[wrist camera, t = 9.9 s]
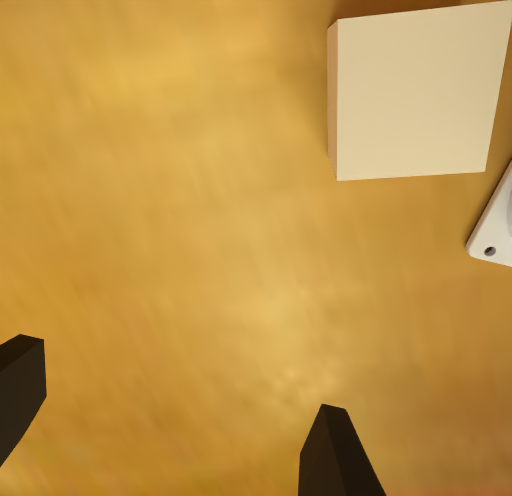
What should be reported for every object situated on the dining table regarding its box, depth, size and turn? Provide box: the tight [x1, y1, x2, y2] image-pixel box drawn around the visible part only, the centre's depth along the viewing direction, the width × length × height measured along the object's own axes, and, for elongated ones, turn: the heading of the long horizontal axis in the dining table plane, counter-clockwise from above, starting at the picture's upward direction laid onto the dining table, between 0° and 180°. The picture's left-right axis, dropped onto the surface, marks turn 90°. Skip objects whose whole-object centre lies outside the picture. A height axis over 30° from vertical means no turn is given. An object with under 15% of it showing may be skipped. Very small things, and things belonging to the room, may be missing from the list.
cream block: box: [327, 0, 512, 181], centre depth 14 cm, size 5×5×4 cm
